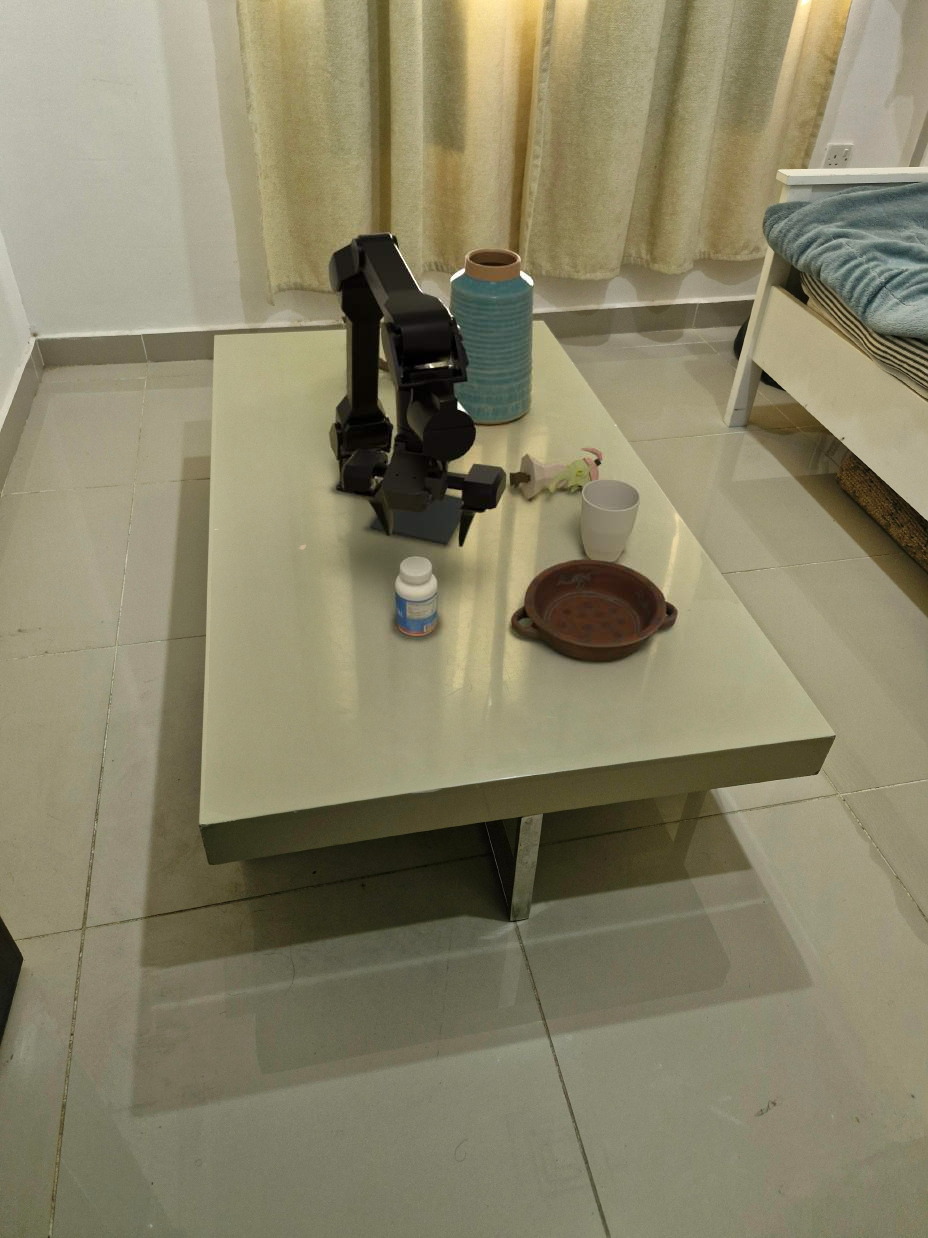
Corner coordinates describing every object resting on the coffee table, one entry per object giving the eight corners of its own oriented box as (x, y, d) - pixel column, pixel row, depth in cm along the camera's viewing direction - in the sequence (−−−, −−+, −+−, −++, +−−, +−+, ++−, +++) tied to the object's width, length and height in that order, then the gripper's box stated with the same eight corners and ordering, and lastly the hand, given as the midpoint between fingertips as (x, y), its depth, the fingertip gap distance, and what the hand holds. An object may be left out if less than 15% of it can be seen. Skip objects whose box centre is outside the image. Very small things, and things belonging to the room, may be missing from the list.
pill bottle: (395, 611, 121) (393, 552, 115) (435, 609, 121) (436, 551, 115) (396, 638, 117) (394, 579, 110) (438, 637, 117) (438, 577, 111)
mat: (370, 528, 135) (370, 526, 135) (399, 487, 144) (399, 485, 144) (446, 544, 133) (446, 542, 132) (471, 502, 141) (471, 499, 141)
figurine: (522, 506, 138) (612, 497, 142) (522, 457, 135) (614, 450, 139) (504, 495, 145) (590, 487, 149) (503, 449, 143) (590, 442, 147)
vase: (547, 400, 167) (560, 253, 150) (502, 437, 157) (511, 283, 139) (472, 377, 174) (477, 233, 156) (424, 411, 163) (423, 260, 146)
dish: (497, 593, 124) (499, 564, 121) (651, 580, 127) (657, 552, 124) (523, 682, 111) (526, 652, 108) (694, 665, 114) (701, 636, 111)
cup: (635, 542, 134) (645, 485, 128) (624, 574, 128) (634, 515, 122) (581, 531, 136) (589, 474, 129) (568, 562, 130) (575, 503, 124)
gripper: (316, 442, 97) (329, 564, 107) (485, 464, 93) (483, 588, 103) (353, 401, 106) (362, 517, 115) (509, 419, 102) (505, 537, 111)
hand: (425, 539), depth 111 cm, fingers open, 9 cm apart
